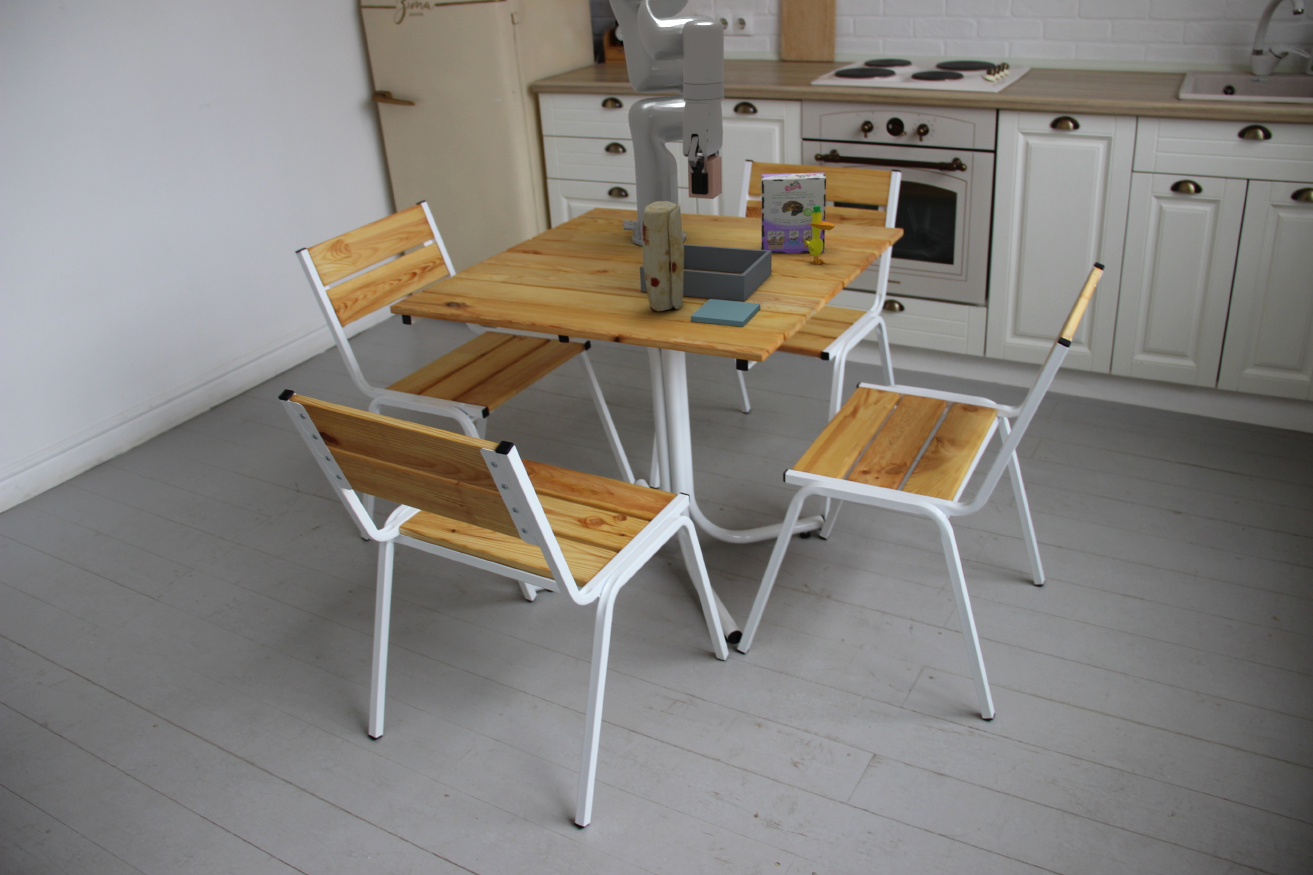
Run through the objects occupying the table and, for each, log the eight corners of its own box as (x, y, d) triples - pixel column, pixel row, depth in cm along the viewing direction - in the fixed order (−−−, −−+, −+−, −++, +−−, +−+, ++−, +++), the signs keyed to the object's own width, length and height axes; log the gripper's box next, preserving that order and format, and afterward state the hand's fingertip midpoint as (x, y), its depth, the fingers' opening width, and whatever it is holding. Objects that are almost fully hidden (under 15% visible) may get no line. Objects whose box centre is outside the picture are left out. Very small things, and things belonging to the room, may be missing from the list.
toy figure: (836, 263, 205) (839, 206, 199) (827, 267, 202) (829, 210, 197) (809, 258, 209) (811, 202, 203) (800, 262, 206) (801, 206, 201)
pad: (690, 321, 177) (690, 316, 177) (709, 303, 185) (709, 298, 185) (743, 326, 173) (743, 321, 173) (760, 308, 181) (760, 303, 181)
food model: (664, 297, 189) (660, 195, 180) (694, 302, 186) (691, 198, 177) (636, 313, 182) (631, 206, 173) (667, 318, 179) (662, 210, 170)
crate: (640, 291, 194) (639, 267, 191) (674, 266, 208) (673, 243, 206) (744, 301, 186) (744, 276, 183) (771, 274, 200) (771, 250, 198)
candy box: (822, 246, 217) (825, 171, 210) (824, 253, 212) (827, 177, 204) (760, 247, 218) (761, 173, 211) (760, 254, 213) (761, 178, 206)
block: (688, 197, 188) (687, 160, 185) (697, 191, 192) (697, 155, 189) (713, 199, 186) (712, 162, 183) (721, 193, 190) (721, 156, 187)
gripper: (701, 85, 189) (702, 180, 197) (667, 98, 175) (670, 200, 183) (737, 86, 186) (737, 182, 194) (706, 99, 172) (708, 202, 180)
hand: (705, 189), depth 189 cm, fingers closed on block, 4 cm apart
